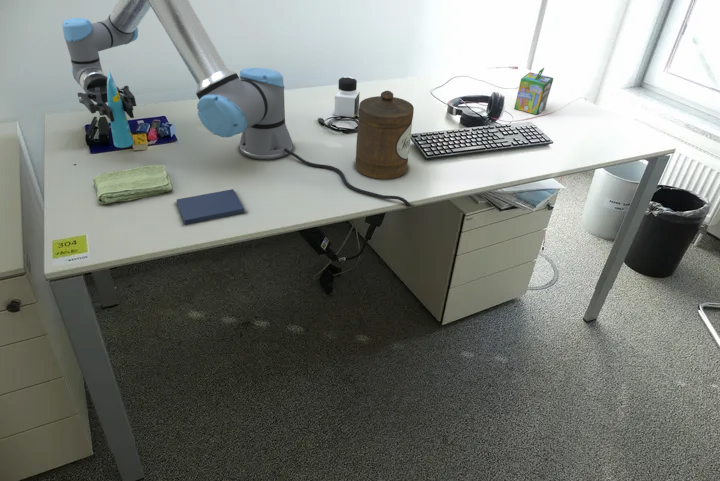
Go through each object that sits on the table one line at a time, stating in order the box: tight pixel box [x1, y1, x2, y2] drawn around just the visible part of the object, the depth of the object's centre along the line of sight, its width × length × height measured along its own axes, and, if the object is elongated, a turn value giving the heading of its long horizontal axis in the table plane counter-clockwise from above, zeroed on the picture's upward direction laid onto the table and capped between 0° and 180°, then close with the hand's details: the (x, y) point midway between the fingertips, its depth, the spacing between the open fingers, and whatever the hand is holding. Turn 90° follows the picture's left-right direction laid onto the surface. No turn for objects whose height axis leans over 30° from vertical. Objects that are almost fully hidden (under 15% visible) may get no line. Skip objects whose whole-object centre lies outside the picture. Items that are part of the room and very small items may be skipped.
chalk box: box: [513, 67, 554, 116], centre depth 187 cm, size 9×9×15 cm
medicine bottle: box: [333, 76, 360, 119], centre depth 176 cm, size 7×7×12 cm
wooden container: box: [355, 90, 415, 180], centre depth 142 cm, size 15×15×22 cm
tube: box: [107, 69, 134, 149], centre depth 136 cm, size 7×5×19 cm, turn 26°
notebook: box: [175, 188, 245, 225], centre depth 126 cm, size 14×10×1 cm
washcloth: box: [92, 164, 173, 205], centre depth 131 cm, size 13×18×3 cm
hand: (121, 114), depth 132 cm, fingers closed on tube, 4 cm apart
